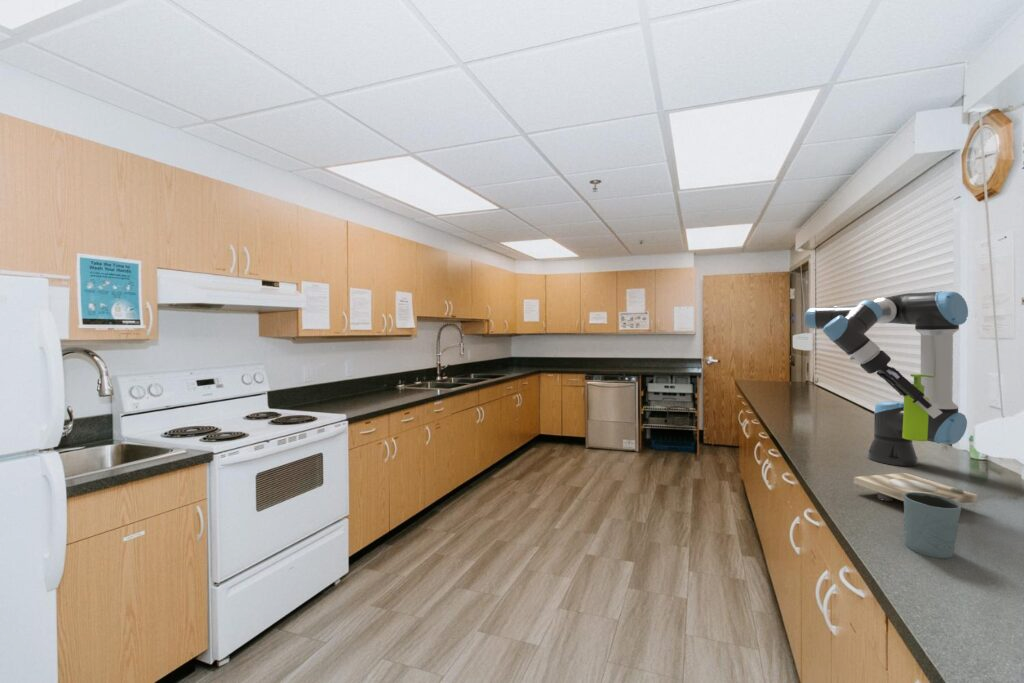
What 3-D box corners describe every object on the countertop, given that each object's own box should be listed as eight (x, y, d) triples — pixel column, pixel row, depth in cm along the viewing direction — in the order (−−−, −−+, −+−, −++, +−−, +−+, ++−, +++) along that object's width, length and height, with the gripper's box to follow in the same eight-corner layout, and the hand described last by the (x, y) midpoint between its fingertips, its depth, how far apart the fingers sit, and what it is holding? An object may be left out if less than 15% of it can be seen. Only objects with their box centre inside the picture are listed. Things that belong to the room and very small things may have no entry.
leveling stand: (904, 488, 153) (905, 471, 153) (976, 512, 133) (977, 492, 133) (853, 492, 149) (853, 475, 148) (920, 518, 129) (920, 497, 129)
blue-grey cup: (901, 536, 118) (903, 488, 118) (957, 548, 112) (959, 498, 111) (902, 551, 110) (903, 500, 110) (961, 565, 104) (963, 511, 103)
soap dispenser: (936, 442, 141) (939, 375, 141) (909, 440, 143) (912, 374, 142) (923, 438, 147) (926, 374, 147) (897, 436, 149) (901, 373, 148)
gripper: (851, 363, 159) (910, 416, 153) (868, 367, 142) (934, 427, 136) (871, 348, 157) (931, 401, 151) (890, 350, 139) (959, 410, 133)
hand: (933, 413), depth 143 cm, fingers closed on soap dispenser, 6 cm apart
